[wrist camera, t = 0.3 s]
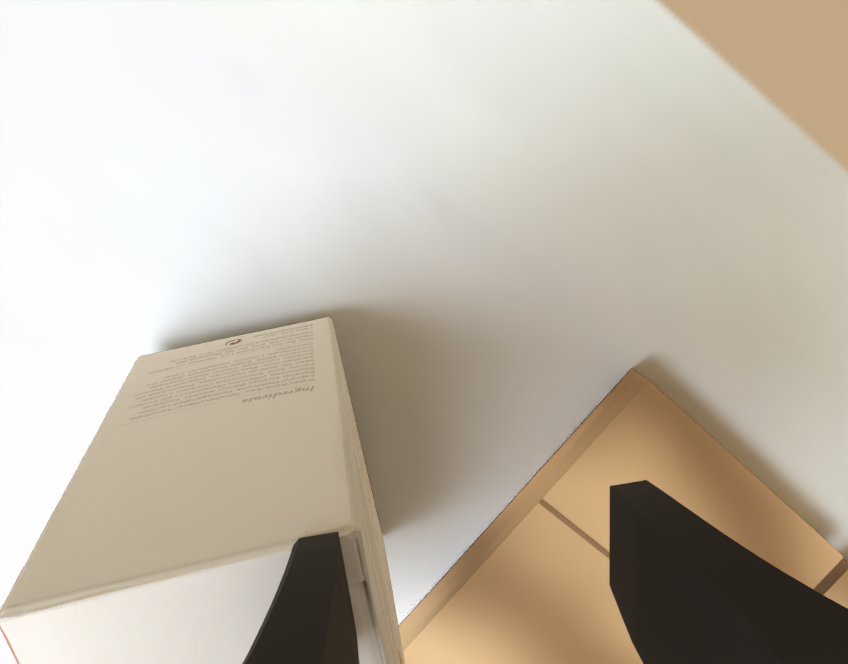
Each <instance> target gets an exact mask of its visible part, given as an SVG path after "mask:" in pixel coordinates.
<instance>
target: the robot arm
mask: <svg viewBox="0 0 848 664" xmlns="http://www.w3.org/2000/svg"><path fill="white" fill-rule="evenodd" d="M609 585H610V588H611V590H612V593H613V596H614V598H615V601H616V603H617V606H618V608H619V611H620V614H621V616H622V619H623V621H624V624H625V626H626V628H627V631H628V633H629V636H630V638H631V641H632V643H633V645H634V647H635V649H636V651H637V653H638V654H639V656H640V658H641V660H642V662H643V664H848V609H847V608H846V607H844V606H842V605H840V604H838V603H836V602H835V601H833V600H831V599H829V598H827V597H826V596H824V595H822V594H820V593H819V592H817V591H815V590H813V589H812V588H810V587H808V586H807V585H805V584H803V583H802V582H800V581H798V580H796V579H795V578H793V577H791V576H790V575H788V574H786V573H785V572H783V571H781V570H780V569H778V568H776V567H775V566H773V565H772V564H770V563H768V562H767V561H765V560H764V559H762V558H760V557H759V556H757V555H756V554H754V553H753V552H751V551H750V550H748V549H746V548H745V547H743V546H742V545H740V544H739V543H737V542H736V541H734V540H733V539H731V538H730V537H728V536H727V535H725V534H724V533H722V532H721V531H719V530H718V529H717V528H715V527H714V526H712V525H711V524H709V523H708V522H706V521H705V520H704V519H702V518H701V517H699V516H698V515H696V514H695V513H693V512H692V511H691V510H689V509H688V508H686V507H685V506H683V505H682V504H681V503H679V502H678V501H676V500H675V499H674V498H672V497H671V496H669V495H668V494H666V493H665V492H664V491H662V490H661V489H659V488H658V487H656V486H655V485H653V484H652V483H650V482H649V481H647V480H643V481H637V482H631V483H625V484H619V485H613V486H610V549H609ZM242 664H359V654H358V643H357V632H356V627H355V621H354V615H353V610H352V604H351V599H350V593H349V588H348V582H347V577H346V571H345V566H344V560H343V555H342V549H341V544H340V538H339V533H338V532H332V533H326V534H320V535H314V536H308V537H302V538H299V539H298V540H297V541H296V542H295V544H294V545H293V547H292V551H291V554H290V557H289V560H288V563H287V566H286V569H285V571H284V574H283V577H282V579H281V582H280V584H279V587H278V589H277V591H276V594H275V596H274V599H273V601H272V603H271V606H270V608H269V610H268V612H267V614H266V616H265V619H264V621H263V623H262V625H261V627H260V629H259V631H258V634H257V636H256V638H255V640H254V642H253V644H252V646H251V648H250V650H249V652H248V654H247V656H246V658H245V660H244V662H243V663H242Z"/></svg>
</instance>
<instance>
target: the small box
mask: <svg viewBox="0 0 848 664" xmlns="http://www.w3.org/2000/svg"><path fill="white" fill-rule="evenodd" d="M332 532H338V533H339V538H340V544H341V549H342V555H343V560H344V566H345V571H346V577H347V582H348V588H349V593H350V599H351V604H352V610H353V615H354V621H355V627H356V632H357V643H358V654H359V664H405V660H404V655H403V649H402V643H401V638H400V632H399V627H398V621H397V615H396V609H395V603H394V597H393V591H392V585H391V580H390V574H389V568H388V562H387V557H386V551H385V546H384V541H383V537H382V533H381V529H380V525H379V520H378V516H377V512H376V508H375V503H374V499H373V494H372V490H371V486H370V482H369V477H368V473H367V469H366V465H365V460H364V456H363V452H362V448H361V444H360V439H359V435H358V430H357V426H356V421H355V417H354V412H353V408H352V403H351V399H350V394H349V390H348V386H347V382H346V377H345V373H344V369H343V364H342V360H341V356H340V352H339V347H338V343H337V338H336V334H335V330H334V325H333V321H332V319H331V318H330V317H325V318H321V319H316V320H312V321H307V322H302V323H297V324H293V325H288V326H283V327H278V328H273V329H268V330H263V331H259V332H254V333H249V334H244V335H239V336H234V337H229V338H225V339H220V340H215V341H210V342H206V343H201V344H196V345H191V346H187V347H182V348H177V349H172V350H167V351H162V352H158V353H153V354H148V355H143V356H140V357H139V358H138V359H137V360H136V362H135V364H134V366H133V367H132V369H131V371H130V373H129V375H128V376H127V378H126V380H125V382H124V384H123V385H122V387H121V389H120V391H119V393H118V395H117V396H116V399H115V401H114V402H113V404H112V406H111V407H110V409H109V411H108V412H107V414H106V416H105V418H104V420H103V422H102V424H101V426H100V428H99V430H98V432H97V434H96V435H95V437H94V439H93V441H92V443H91V444H90V446H89V448H88V450H87V451H86V453H85V455H84V457H83V458H82V460H81V463H80V465H79V466H78V468H77V470H76V472H75V474H74V476H73V478H72V479H71V481H70V482H69V484H68V486H67V488H66V490H65V492H64V494H63V495H62V497H61V499H60V501H59V503H58V504H57V506H56V508H55V510H54V512H53V513H52V515H51V517H50V519H49V521H48V523H47V525H46V526H45V528H44V530H43V532H42V534H41V536H40V538H39V540H38V541H37V543H36V545H35V547H34V549H33V551H32V553H31V555H30V557H29V559H28V561H27V563H26V564H25V566H24V567H23V569H22V571H21V572H20V574H19V576H18V578H17V580H16V582H15V584H14V586H13V588H12V590H11V592H10V594H9V596H8V597H7V599H6V601H5V603H4V604H3V606H2V608H1V610H0V629H1V631H2V633H3V635H4V637H5V639H6V641H7V643H8V645H9V647H10V649H11V651H12V653H13V655H14V657H15V659H16V661H17V663H18V664H242V663H243V662H244V660H245V658H246V656H247V654H248V652H249V650H250V648H251V646H252V644H253V642H254V640H255V638H256V636H257V634H258V631H259V629H260V627H261V625H262V623H263V621H264V619H265V616H266V614H267V612H268V610H269V608H270V606H271V603H272V601H273V599H274V596H275V594H276V591H277V589H278V587H279V584H280V582H281V579H282V577H283V574H284V571H285V569H286V566H287V563H288V560H289V557H290V554H291V551H292V547H293V545H294V544H295V542H296V541H297V540H298V539H299V538H302V537H308V536H314V535H320V534H326V533H332Z"/></svg>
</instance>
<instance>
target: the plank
mask: <svg viewBox="0 0 848 664" xmlns="http://www.w3.org/2000/svg"><path fill="white" fill-rule="evenodd" d="M813 590H815V591H817V592H819V593H820V594H822V595H824V596H826V597H827V598H829V599H831V600H833V601H835V602H836V603H838V604H840V605H842V606H844V607H846V608H847V609H848V561H846V560H844V559H843V558H842V560H841V561H840V562H839V563H838V564H837V565H836V566H835V567H834V568H833V569H832V570H831V571H830V572H829V573H828V574H827V575H826V576H825V577H824V578H823V579H822V580H821V581H820V582H819V583H818V585H817V586H816V587H815V588H814V589H813Z"/></svg>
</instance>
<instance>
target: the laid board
mask: <svg viewBox="0 0 848 664" xmlns="http://www.w3.org/2000/svg"><path fill="white" fill-rule="evenodd" d="M643 480H647V481H649V482H650V483H652V484H653V485H655V486H656V487H658V488H659V489H661V490H662V491H664V492H665V493H666V494H668V495H669V496H671V497H672V498H674V499H675V500H676V501H678V502H679V503H681V504H682V505H683V506H685V507H686V508H688V509H689V510H691V511H692V512H693V513H695V514H696V515H698V516H699V517H701V518H702V519H704V520H705V521H706V522H708V523H709V524H711V525H712V526H714V527H715V528H717V529H718V530H719V531H721V532H722V533H724V534H725V535H727V536H728V537H730V538H731V539H733V540H734V541H736V542H737V543H739V544H740V545H742V546H743V547H745V548H746V549H748V550H750V551H751V552H753V553H754V554H756V555H757V556H759V557H760V558H762V559H764V560H765V561H767V562H768V563H770V564H772V565H773V566H775V567H776V568H778V569H780V570H781V571H783V572H785V573H786V574H788V575H790V576H791V577H793V578H795V579H796V580H798V581H800V582H802V583H803V584H805V585H807V586H808V587H810V588H812V589H814V588H815V587H816V586H817V585H818V583H819V582H820V581H821V580H822V579H823V578H824V577H825V576H826V575H827V574H828V573H829V572H830V571H831V570H832V569H833V568H834V567H835V566H836V565H837V564H838V563H839V562H840V561H841V560H842V558H843V557H844V556H843V555H842V554H840V553H839V552H838V551H837V550H836V549H835V548H834V547H833V546H832V545H831V544H829V543H828V542H827V541H826V540H825V539H824V538H823V537H822V536H821V535H819V534H818V533H817V532H816V531H815V530H814V529H813V528H812V527H811V526H810V525H808V524H807V523H806V522H805V521H804V520H803V519H802V518H801V517H800V516H799V515H797V514H796V513H795V512H794V511H793V510H792V509H791V508H790V507H789V506H788V505H786V504H785V503H784V502H783V501H782V500H781V499H780V498H779V497H778V496H777V495H775V494H774V493H773V492H772V491H771V490H770V489H769V488H768V487H767V486H766V485H764V484H763V483H762V482H761V481H760V480H759V479H758V478H757V477H756V476H755V475H753V474H752V473H751V472H750V471H749V470H748V469H747V468H746V467H745V466H743V465H742V464H741V463H740V462H739V461H738V460H737V459H736V458H735V457H734V456H732V455H731V454H730V453H729V452H728V451H727V450H726V449H725V448H724V447H723V446H721V445H720V444H719V443H718V442H717V441H716V440H715V439H714V438H713V437H712V436H710V435H709V434H708V433H707V432H706V431H705V430H704V429H703V428H702V427H701V426H699V425H698V424H697V423H696V422H695V421H694V420H693V419H692V418H691V417H690V416H688V415H687V414H686V413H685V412H684V411H683V410H682V409H681V408H680V407H679V406H677V405H676V404H675V403H674V402H673V401H672V400H671V399H670V398H669V397H668V396H666V395H665V394H664V393H663V392H662V391H661V390H660V389H659V388H658V387H656V386H655V385H654V384H653V383H652V382H651V381H650V380H648V379H647V378H645V377H644V376H642V375H641V374H639V373H638V372H636V371H635V370H633V369H631V370H630V371H629V372H628V373H627V374H626V375H625V377H624V378H623V379H622V380H621V381H620V382H619V383H618V384H617V385H616V387H615V388H614V389H613V390H612V391H611V392H610V393H609V394H608V395H607V396H606V398H605V399H604V400H603V401H602V402H601V403H600V404H599V405H598V406H597V408H596V409H595V410H594V411H593V412H592V413H591V414H590V415H589V416H588V418H587V419H586V420H585V421H584V422H583V423H582V424H581V425H580V426H579V427H578V429H577V430H576V431H575V432H574V433H573V434H572V435H571V436H570V437H569V439H568V440H567V441H566V442H565V443H564V444H563V445H562V446H561V447H560V449H559V450H558V451H557V452H556V453H555V454H554V455H553V456H552V457H551V458H550V460H549V461H548V462H547V463H546V464H545V465H544V466H543V467H542V468H541V470H540V471H539V472H538V473H537V474H536V475H535V476H534V477H533V478H532V480H531V481H530V482H529V483H528V484H527V485H526V486H525V487H524V488H523V489H522V491H521V492H520V493H519V494H518V495H517V496H516V497H515V498H514V499H513V501H512V502H511V503H510V504H509V505H508V506H507V507H506V508H505V509H504V510H503V512H502V513H501V514H500V515H499V516H498V517H497V518H496V519H495V520H494V522H493V523H492V524H491V525H490V526H489V527H488V528H487V529H486V530H485V532H484V533H483V534H482V535H481V536H480V537H479V538H478V539H477V540H476V541H475V543H474V544H473V545H472V546H471V547H470V548H469V549H468V550H467V551H466V553H465V554H464V555H463V556H462V557H461V558H460V559H459V560H458V561H457V563H456V564H455V565H454V566H453V567H452V568H451V569H450V570H449V571H448V572H447V574H446V575H445V576H444V577H443V578H442V579H441V580H440V581H439V582H438V584H437V585H436V586H435V587H434V588H433V589H432V590H431V591H430V592H429V593H428V595H427V596H426V597H425V598H424V599H423V600H422V601H421V602H420V603H419V605H418V606H417V607H416V608H415V609H414V610H413V611H412V612H411V613H410V615H409V616H408V617H407V618H406V619H405V620H404V621H403V622H402V623H401V624H400V626H399V632H400V638H401V643H402V649H403V655H404V660H405V664H643V662H642V660H641V658H640V656H639V654H638V653H637V651H636V649H635V647H634V645H633V643H632V641H631V638H630V636H629V633H628V631H627V628H626V626H625V624H624V621H623V619H622V616H621V614H620V611H619V608H618V606H617V603H616V601H615V598H614V596H613V593H612V590H611V588H610V585H609V549H610V486H613V485H619V484H625V483H631V482H637V481H643Z"/></svg>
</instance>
